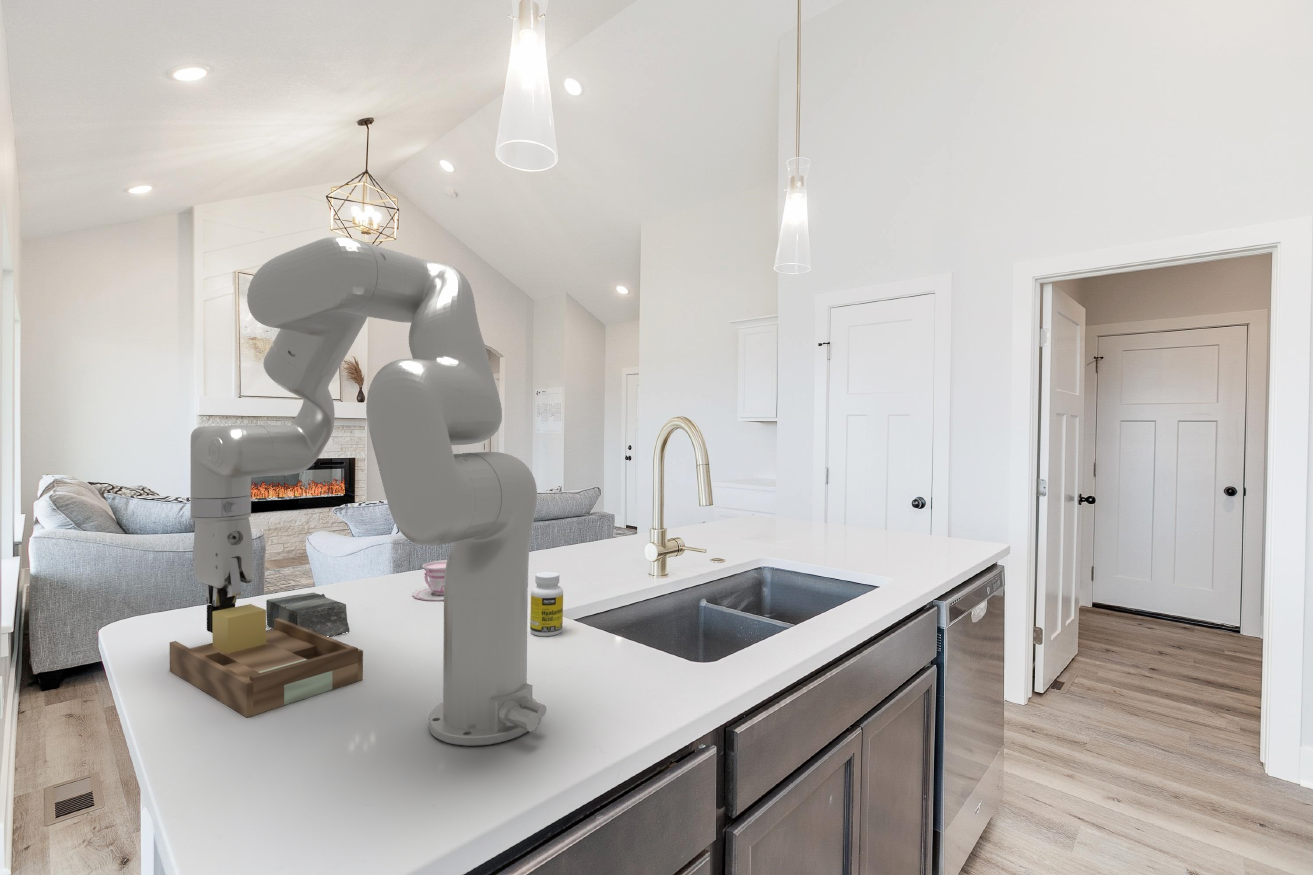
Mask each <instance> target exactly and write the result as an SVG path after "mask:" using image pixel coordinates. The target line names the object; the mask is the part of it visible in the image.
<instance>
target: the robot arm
mask: <svg viewBox="0 0 1313 875" xmlns="http://www.w3.org/2000/svg"><path fill="white" fill-rule="evenodd" d="M475 301H476V300H475V297H474V292H473V289H472V287H471V284H470V282H469V280H468V279H467V277H466V275H464V273H463V272H461V270H459V269H458V268H457V267H455V266H452V265H451V264H447V263H444V262H439V261H438V262H437V261H433V260H428V259H424V258H420V257H416V256H412V255H409V254H406V253H403V252H399V251H395V250H392V249H388V248H385V247H382V246H379V245H375V244H372V243H370V242H366V241H363V240H358V239H355V238H352V237H348V236H346V237H345V236H329V237H323V238H321V239H318V240H315V241H313V242H310V243H306V244H305V245H302V246H299V247H297V248H294V249H291V250H289V251H286V252H284V253H281V254H279V255H276V256H274V257H273V258H271V259H269V260H268V261H266V262H265V263H264V264H262V266H261V267H259V268H258V269H257V270H256V272H255V273H254V275H253V277H252V278H251V279H250V283H249V286H248V288H247V293H246V302H247V307H248V311H249V313H250V314H251V316H252V317H253V318H254V320H255V321H257V322H258V323H259V324H261V325H263V326H265V327H268V328H272V329H279V331H278V332H277V334H276V336H275V338H274V340H273V342H272V343H271V346H270V347H269V349H268V351H267V352H266V354H265V356H264V358H263V369H264V371H265V373H266V375H267V376H268V378H270V379H271V380H272V381H273V382H274V383H275V384H277V386H279V387H281V388H282V389H283V390H286V391H287V392H289V393H291V394H293V395H295V396H297V397H298V398H301V399H303V401H302V405H301V407H300V409H299V411H298V413H297V415H296V416H295V418H294V419H293V421H292V422H291V424H289V425H288V424H287V425H286V424H252V425H251V424H239V425H237V424H234V425H206V426H205V425H204V426H199V427H195V428H194V429H193V431H192V432H191V434H190V473H189V474H190V484H189V485H190V486H189V488H190V492H189V493H190V500H189V501H190V509H189V510H190V512H189V513H190V517H189V518H190V521H193V522H195V524H194V533H193V534H194V535H193V536H194V537H193V547H192V548H193V549H192V553H193V554H192V567H193V570H192V571H193V577H194V578H195V579H196V580H197V581H198V582H201V584H202V586H203V587H204V588H205V602H206V631H207V632H209V633H211V634H213V611H218V610H223V609H228V608H233V607H236V603H237V596H241V595H242V587H241V586H242V584H241V583H244V584H251V583H252V582H253V581H254V579H255V561H254V545H253V544H254V543H253V533H252V528H251V522H250V518H251V516H252V498H251V497H252V491H251V490H252V478H260V477H270V476H272V477H273V476H285V475H297V474H299V473H303V472H306V470H308V469H309V468H311V467H312V466H313V464H314V463H315V462H317V460H318V459H319V457H320V455H321V454H322V452H323V451H324V449H325V447H326V446H327V444H328V443H329V441H330V439H331V437H332V434H333V432H334V427H335V418H336V417H335V404H334V399H333V397H332V394H331V391H330V390H329V386H330V384H331V382H332V381H333V379H334V377H335V375H336V374H337V372H338V370H339V368H340V367H341V365H342V363H343V361H345V360H344V359H345V357H346V356H347V355H348V352H349V351H350V349H351V348H352V346H353V344H354V343H355V340H356V339H357V337H358V335H359V334H360V332H361V330H362V328H363V326H364V325H365V323H366V322H367V319H368V318H373V319H380V320H385V321H391V322H397V323H398V322H399V323H410V326H409V331H408V347H409V351H410V353H411V357H412V358H401V359H396V360H393V361H390V362H389V363H387V364H385V365H383V366H382V367H381V368H380V369H379V370H378V371H377V372H376V374H375V375H374V376H373V379H372V380H371V383H370V386H369V388H368V391H367V397H366V403H365V406H366V409H365V410H366V411H365V412H366V422H367V426H368V432H369V434H370V439H371V443H372V448H373V451H374V456H375V459H376V460H375V461H376V462H377V464H376V465H377V467H378V472H379V474H380V479H381V482H382V486H383V490H384V493H385V494H384V495H385V498H386V499H385V500H386V501H387V505H388V506H387V507H388V509H389V511H390V512H389V513H390V515H391V517H392V519H393V521H394V522H393V523H395V525H396V527H397V529H398V530H399V531H400V533H401V534H402V535H403V536H404V537H405V538H406V539H407V540H409V541H411V542H412V543H414V544H417V545H420V546H424V547H425V546H427V547H428V546H429V547H434V546H441V545H447V544H451V547H450V550H449V552H448V556H447V559H446V560H447V563H446V568H445V577H444V595H443V596H444V600H443V650H442V652H443V654H442V655H443V660H442V661H443V662H442V663H443V665H442V667H443V668H442V670H443V671H442V672H443V673H442V676H443V677H442V703H439V704H438V705H437V706H435V708H434V709H433V710H432V711H431V712H430V713H429V716H428V729H429V732H430V733H431V735H432V736H433V737H434V738H436V739H438V740H439V741H442V742H444V743H447V744H452V745H457V746H468V747H469V746H488V745H493V744H499V743H503V742H507V741H510V740H513V739H515V738H518V737H520V736H522V735H524V734H526V733H527V732H530V733H532V732H534V731H535V730H536V729H537V727H538V726H539V724H540V719H541V718H543V717H545V715H546V712H547V706H546V705H545V704H542V703H541V702H540V703H539V702H538V701H537V700H536V699H535V698H533V684H530V683H528V682H527V681H528V678H527V677H528V672H527V671H528V601H529V600H528V597H529V596H528V595H529V594H528V593H529V589H528V588H529V560H530V559H529V558H530V547H531V538H532V532H533V527H534V521H535V516H536V511H537V503H538V488H537V484H536V480H535V477H534V474H533V472H532V471H531V469H530V468H529V467H528V465H527V464H525V462H523V461H522V460H521V459H519V458H518V457H515V456H514V455H511V454H509V453H504V452H499V451H498V452H497V451H480V452H477V451H476V452H463V453H454V451H453V447H452V446H463V445H467V446H468V445H473V444H478V443H482V442H484V441H485V442H486V441H487V440H489V439H491V438H492V437H494V435H495V434H496V433H497V432H498V431H499V429H500V426H501V424H502V420H503V419H502V418H503V410H502V409H503V408H502V403H501V399H500V395H499V392H498V391H499V390H498V388H497V384H496V380H495V375H494V373H493V369H492V365H491V362H490V358H489V355H488V352H487V348H486V345H485V342H484V338H483V336H482V332H481V327H480V323H479V321H478V320H479V319H478V315H477V308H476V304H475V303H476V302H475Z"/></svg>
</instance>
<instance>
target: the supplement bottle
mask: <svg viewBox="0 0 1313 875" xmlns="http://www.w3.org/2000/svg"><path fill="white" fill-rule="evenodd" d="M559 584H560V573H558V572H554V571H542V572H537V573H536V574H535V586H533V588H531V590H530V622H529V624H530V625H529V630H530V633H531V634H532V635H535V636H538V637H551V636H552V637H553V636H557V635H559V634H561V632H563V624H564V623H563V622H564V621H563V620H564V610H563V609H564V590H563V588H562V587H561V586H560V585H559Z"/></svg>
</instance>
